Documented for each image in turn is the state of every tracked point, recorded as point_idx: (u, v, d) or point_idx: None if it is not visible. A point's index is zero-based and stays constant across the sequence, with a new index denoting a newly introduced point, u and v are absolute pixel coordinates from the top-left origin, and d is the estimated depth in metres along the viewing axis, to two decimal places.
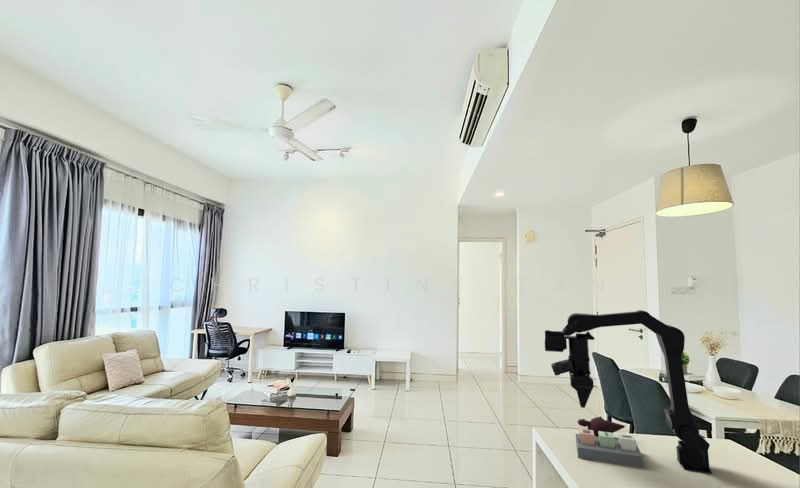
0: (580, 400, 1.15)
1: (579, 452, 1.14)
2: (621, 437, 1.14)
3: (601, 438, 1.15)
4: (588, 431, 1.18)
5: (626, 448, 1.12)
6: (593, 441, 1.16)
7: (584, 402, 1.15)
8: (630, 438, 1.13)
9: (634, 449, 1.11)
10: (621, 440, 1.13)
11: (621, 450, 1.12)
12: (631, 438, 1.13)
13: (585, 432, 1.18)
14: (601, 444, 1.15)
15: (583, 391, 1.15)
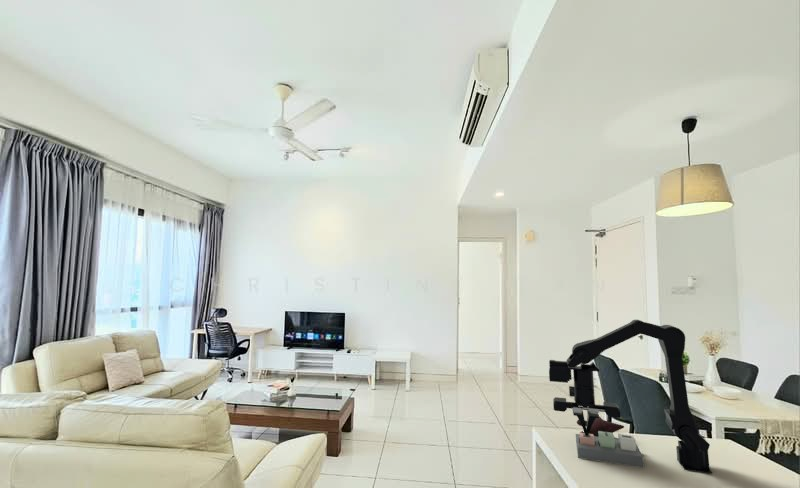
0: None
1: (579, 452, 1.14)
2: (621, 437, 1.14)
3: (601, 438, 1.15)
4: (588, 435, 1.18)
5: (626, 448, 1.12)
6: None
7: (583, 429, 1.18)
8: (630, 438, 1.13)
9: (634, 449, 1.11)
10: (621, 440, 1.13)
11: (621, 450, 1.12)
12: (631, 438, 1.13)
13: (585, 436, 1.17)
14: (601, 444, 1.15)
15: None
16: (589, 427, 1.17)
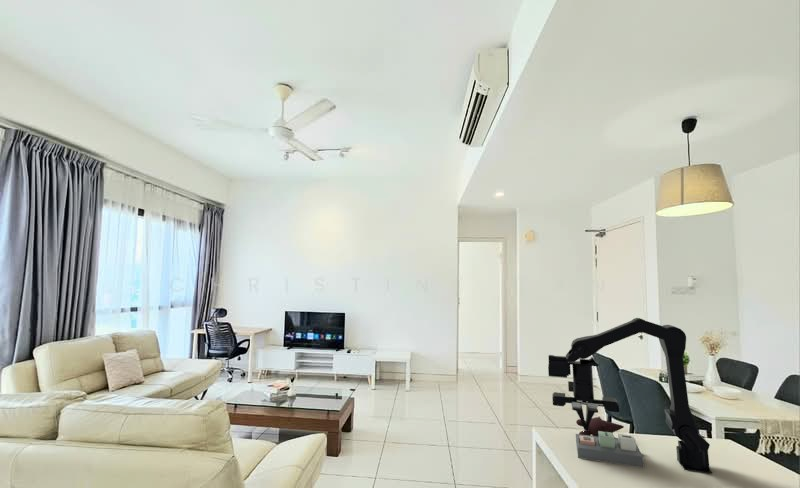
0: None
1: (579, 452, 1.14)
2: (621, 437, 1.14)
3: (601, 438, 1.15)
4: (588, 438, 1.18)
5: (626, 448, 1.12)
6: None
7: (582, 424, 1.19)
8: (630, 438, 1.13)
9: (634, 449, 1.11)
10: (621, 440, 1.13)
11: (621, 450, 1.12)
12: (631, 438, 1.13)
13: (585, 439, 1.17)
14: (601, 444, 1.15)
15: None
16: (588, 422, 1.17)
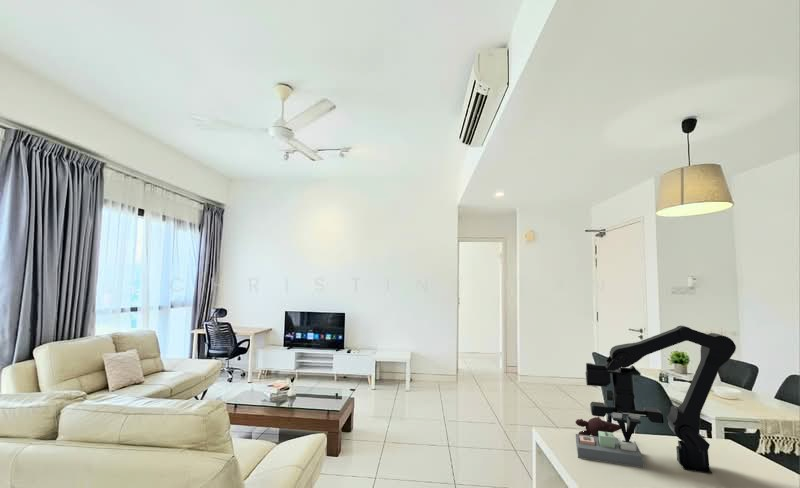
0: None
1: (579, 452, 1.14)
2: (621, 442, 1.14)
3: (601, 438, 1.15)
4: (588, 438, 1.18)
5: None
6: None
7: None
8: (630, 443, 1.13)
9: None
10: (621, 445, 1.13)
11: (621, 450, 1.12)
12: (631, 443, 1.13)
13: (585, 439, 1.17)
14: (601, 444, 1.15)
15: None
16: (630, 433, 1.13)
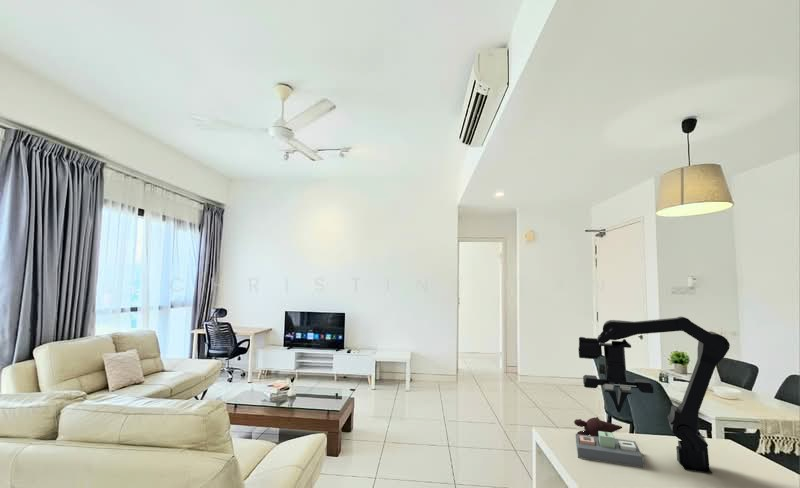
0: None
1: (579, 452, 1.14)
2: (621, 444, 1.14)
3: (601, 438, 1.15)
4: (588, 438, 1.18)
5: None
6: None
7: (615, 406, 1.17)
8: (631, 445, 1.13)
9: None
10: (622, 447, 1.13)
11: (621, 450, 1.12)
12: (632, 445, 1.13)
13: (585, 439, 1.17)
14: (601, 444, 1.15)
15: None
16: (621, 403, 1.16)
